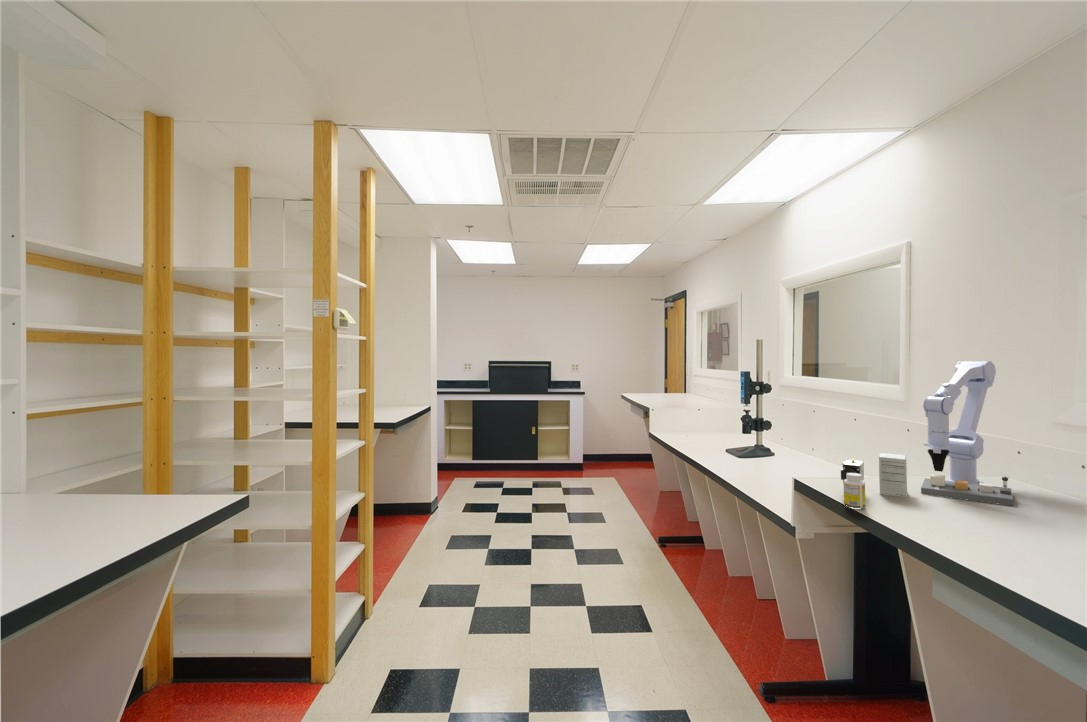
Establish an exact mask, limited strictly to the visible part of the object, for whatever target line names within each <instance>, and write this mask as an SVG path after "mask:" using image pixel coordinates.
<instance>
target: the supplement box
mask: <svg viewBox="0 0 1087 722" xmlns="http://www.w3.org/2000/svg"><path fill="white" fill-rule="evenodd" d="M878 468H879V469H878V470H879V473H878V474H879V477H878V478H879V481H878V482H879V494H880V495H882V494H883V495H884V496H889V495H891V496H890V497H897V496H900V497H899V498H905V497H906V498H907V497H908V480H907V479H908V477H907V476H908V474H907V470H908V469H907V455H905V454H897V453H886V452H885V453H884V452H883V453H882V452H880V453H879V456H878Z"/></svg>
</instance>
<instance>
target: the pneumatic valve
mask: <svg viewBox="0 0 1087 722" xmlns="http://www.w3.org/2000/svg"><path fill="white" fill-rule="evenodd" d="M841 465H842V468H841V469H840V480H841V481H842V484H844V480H845V479H846V478H847V477H846V474H847V473H858V474H861V475H862V481H864V480H865V473H864V472H865V468H864V466H865V465H864V461H863V460H857V459H856V460H855V459H854V458H852V459H846V461H842V462H841Z"/></svg>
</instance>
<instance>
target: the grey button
mask: <svg viewBox="0 0 1087 722" xmlns="http://www.w3.org/2000/svg"><path fill="white" fill-rule="evenodd" d="M978 485H979V491H980V492H988V493H993V486H994V484H991V483H984V482H978Z"/></svg>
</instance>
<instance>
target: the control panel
mask: <svg viewBox="0 0 1087 722" xmlns="http://www.w3.org/2000/svg"><path fill="white" fill-rule="evenodd" d="M920 494H922V495H929V496H934V497H935V496H938V497H944V498H950V497H952V499H958V498H961V499H960V500H965V499H968V501H972V500H976V501H975V502H980V501H983V502H982V503H987V502H990V504H994V503H999V504H998V505H1002V504H1005V505H1004V506H1009V505H1013V506H1014V498H1013V493H1012V488H1011V487H1007V488H1005V487H1003V486H1001V487H1000V486H994V485H993V493H988V492H980V491H979V483H978V484H969V483H968V490H964V489H956V488H955V482H952V481H948V480H945V486H936V485H931V478H924V480H923V482H922V484H921V486H920Z"/></svg>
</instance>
